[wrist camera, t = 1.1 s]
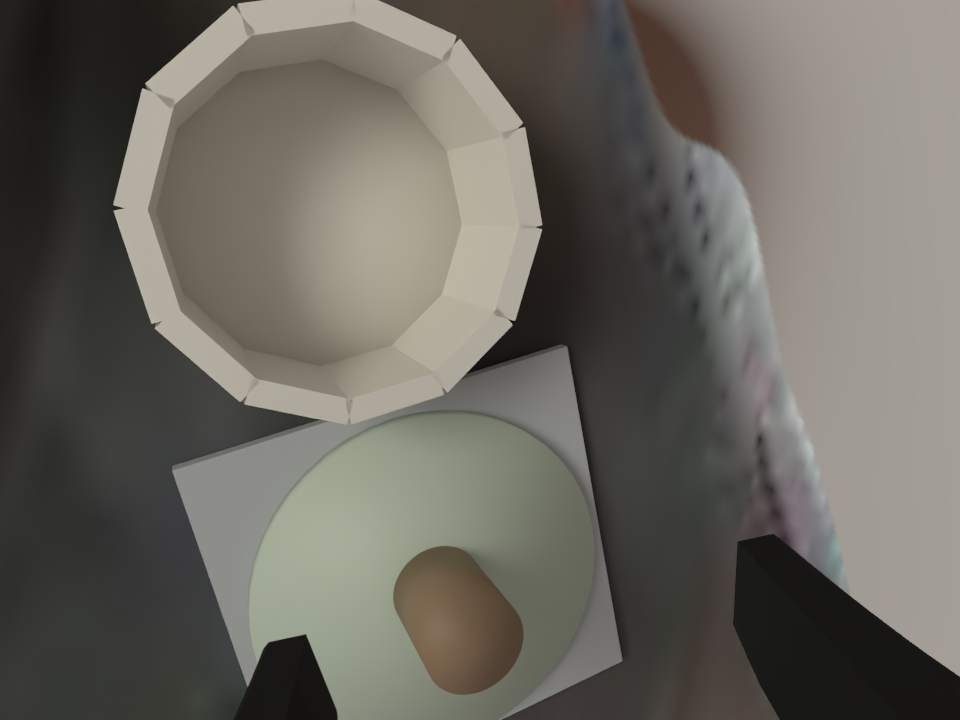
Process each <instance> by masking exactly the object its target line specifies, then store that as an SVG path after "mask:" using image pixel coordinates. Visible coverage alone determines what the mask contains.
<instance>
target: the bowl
mask: <svg viewBox="0 0 960 720" xmlns="http://www.w3.org/2000/svg"><path fill="white" fill-rule="evenodd" d="M455 38H456V35H453V34H451V33H449V32H447V31H445V30H442V29H440V28H438V27H436V26H434V25H431V24H429V23H427V22H425V21H423V20H420V19H418V18H416V17H414V16H412V15H409V14H407V13H405V12H403V11H401V10H398V9H396V8H394V7H392V6H390V5H387V4H385V3H383V2H381V1H379V0H262V1H254V2H246V3H238V6H237V10H236V9H235V7H234V6H232V7H231V8H230V9H229V10H228V11H227V12H225V13H224V14H223V15H222V16H221V17H220V18H219V19H218V20H216V21H215V22H214V23H213V24H212V25H211V26H210V27H208V28H207V29H206V30H205V31H204V32H203V33H202V34H201V35H199V36H198V37H197V38H196V39H195V40H194V41H193V42H192V43H190V44H189V45H188V46H187V47H186V48H185V49H184V50H182V51H181V52H180V53H179V54H178V55H177V56H176V57H175V58H173V59H172V60H171V61H170V62H169V63H168V64H167V65H165V66H164V67H163V68H162V69H161V70H160V71H159V72H158V73H156V74H155V75H154V76H153V77H152V78H151V79H150V80H149V81H147V82H146V83H145V85H146V88H147V90H146V89H143V88H142V91H141V95H140V99H139V103H138V107H137V111H136V115H135V119H134V123H133V127H132V131H131V135H130V139H129V144H128V148H127V152H126V156H125V160H124V164H123V168H122V172H121V176H120V180H119V184H118V188H117V192H116V196H115V200H114V204H113V205H115V206H118V207H122V208H124V209H119V210H114V214H115V217H116V220H117V223H118V226H119V229H120V232H121V235H122V238H123V241H124V244H125V246H126V249H127V252H128V255H129V258H130V261H131V264H132V267H133V270H134V273H135V276H136V279H137V282H138V285H139V288H140V291H141V294H142V297H143V300H144V303H145V306H146V309H147V312H148V315H149V318H150V321H151V324H153V323H156V326H155V329H156V330H157V331H158V332H159V333H161V334H162V335H163V336H164V337H165V338H166V339H168V340H169V341H170V342H171V343H172V344H173V345H175V346H176V347H177V348H178V349H179V350H180V351H181V352H183V353H184V354H185V355H186V356H187V357H188V358H190V359H191V360H192V361H193V362H194V363H195V364H197V365H198V366H199V367H200V368H201V369H202V370H203V371H205V372H206V373H207V374H208V375H209V376H210V377H212V378H213V379H214V380H215V381H216V382H217V383H218V384H220V385H221V386H222V387H223V388H224V389H225V390H227V391H228V392H229V393H230V394H231V395H232V396H234V397H235V398H236V399H237V400H238V401H239V402H241V401H242V400H244V404H245V405H250V406H255V407H260V408H265V409H270V410H275V411H280V412H285V413H290V414H295V415H300V416H305V417H310V418H315V419H320V420H325V421H330V422H335V423H340V424H345V425H347V422H348V421H349V422H350V423H351V425H352V424H355V423H358V422H361V421H364V420H367V419H370V418H373V417H377V416H380V415H383V414H386V413H389V412H392V411H395V410H398V409H402V408H405V407H408V406H411V405H414V404H417V403H420V402H424V401H427V400H430V399H433V398H436V397H439V396H442V395H444V393H443V390H445V391H446V392H449V391H450V390H451V389H452V388H453V387H454V386H455V384H456V383H457V382H458V381H459V380H460V379H461V378H462V377H463V376H464V375H465V374H466V373H467V372H468V371H469V370H470V369H471V368H472V367H473V366H474V365H475V364H476V363H477V362H478V361H479V360H480V359H481V357H482V356H483V355H484V354H485V353H486V352H487V351H488V350H489V349H490V348H491V347H492V346H493V345H494V344H495V343H496V342H497V341H498V340H499V339H500V338H501V337H502V336H503V335H504V334H505V333H506V331H507V330H508V329H509V328H510V327H511V326H512V325H513V324H512V323H511V322H510V321H509V320H508V319H510V320H513V321H515V320H516V316H517V313H518V310H519V306H520V303H521V300H522V296H523V293H524V289H525V286H526V283H527V279H528V276H529V273H530V269H531V266H532V262H533V259H534V256H535V252H536V249H537V246H538V242H539V239H540V236H541V232H542V229H539V228H536V227H537V226H541V225H542V220H541V214H540V208H539V203H538V197H537V191H536V186H535V180H534V175H533V169H532V163H531V158H530V152H529V146H528V141H527V135H526V130H525V127H524V128H519V127H520V126H521V125H522V124H523V122H522V121H521V119H520V118H519V117H518V115H517V114H516V113H515V111H514V110H513V109H512V107H511V106H510V105H509V103H508V102H507V101H506V99H505V98H504V97H503V95H502V94H501V93H500V91H499V90H498V89H497V87H496V86H495V85H494V83H493V82H492V81H491V79H490V78H489V77H488V75H487V74H486V73H485V71H484V70H483V69H482V67H481V66H480V65H479V63H478V62H477V61H476V59H475V58H474V57H473V55H472V54H471V53H470V51H469V50H468V49H467V47H466V46H465V45H464V43H463V42H462V41H461V39H459V40H458V41H456V42H455ZM454 42H455V43H454ZM518 128H519V129H518Z"/></svg>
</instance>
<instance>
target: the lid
mask: <svg viewBox="0 0 960 720" xmlns="http://www.w3.org/2000/svg"><path fill="white" fill-rule="evenodd" d="M593 570H594V537H593V528H592V523H591V519H590V514H589V510H588V507H587V504H586V502H585V499H584V497H583V494H582V492H581V489H580V488H579V486H578V484H577V482H576V481H575V479H574V477H573V475H572V474H571V472H570V471H569V470H568V468H567V467H566V466H565V465H564V463H563V462H562V461H561V460H560V459H559V457H558V456H557V455H555V454H554V453H553V452H552V451H551V450H550V449H549V448H548V447H547V446H546V445H545V444H543V443H542V442H540V441H539V440H537V439H536V438H534V437H533V436H531V435H530V434H528V433H527V432H525V431H524V430H522V429H520V428H518V427H516V426H514V425H512V424H510V423H508V422H506V421H504V420H501V419H498V418H495V417H491V416H488V415H485V414H481V413H475V412H468V411H461V410H434V411H426V412H417V413H412V414H408V415H404V416H400V417H396V418H392V419H389V420H387V421H384V422H382V423H379V424H377V425H374V426H372V427H369V428H367V429H365V430H363V431H361V432H360V433H358V434H356V435H354V436H352V437H350V438H348V439H347V440H345V441H344V442H342V443H341V444H339V445H338V446H337V447H335V448H334V449H332V450H331V451H329V452H328V453H327V454H325V455H324V456H323V457H322V458H321V459H320V460H318V461H317V462H316V463H315V464H314V465H313V466H312V467H311V468H310V469H309V470H307V471H306V472H305V473H304V475H303V476H302V477H301V478H300V479H299V480H298V481H297V483H296V484H295V485H294V486H293V487H292V488H291V489H290V491H289V492H288V493H287V495H286V496H285V498H284V499H283V501H282V502H281V504H280V505H279V507H278V508H277V510H276V511H275V513H274V514H273V516H272V518H271V520H270V522H269V524H268V526H267V528H266V530H265V532H264V534H263V536H262V539H261V542H260V544H259V547H258V550H257V553H256V556H255V559H254V563H253V568H252V573H251V577H250V582H249V596H248V615H249V626H250V634H251V641H252V645H253V649H254V653H255V657H256V661H257V664H258V661H259V659H260V656H261V654H262V651H263V649H264V647H265V646H266V645H267V643H268V642H272V641H276V640H281V639H286V638H290V637H295V636H300V635H304V634H306V635H307V638H308V640H309V643H310V645H311V648H312V650H313V653H314V655H315V658H316V660H317V662H318V665H319V667H320V670H321V672H322V675H323V677H324V680H325V682H326V685H327V687H328V690H329V692H330V695H331V697H332V700H333V702H334V705H335V707H336V710H337V717H338V720H498V719H499V718H501V717H502V716H504V715H505V714H506V713H508V712H509V711H511V710H512V709H513V708H515V707H516V706H517V705H518V704H519V703H520V702H522V701H523V700H524V699H525V698H526V697H527V696H529V695H530V694H531V693H532V691H533V690H534V689H535V688H536V687H537V686H538V685H539V684H540V683H541V682H542V681H543V680H544V679H545V678H546V676H547V675H548V674H549V673H550V671H551V670H552V669H553V668H554V666H555V665H556V664H557V662H558V661H559V659H560V658H561V656H562V655H563V653H564V652H565V650H566V648H567V647H568V645H569V644H570V642H571V640H572V638H573V636H574V634H575V632H576V630H577V628H578V626H579V623H580V621H581V618H582V615H583V613H584V610H585V607H586V604H587V601H588V597H589V593H590V589H591V585H592V577H593Z"/></svg>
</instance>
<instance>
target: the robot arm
mask: <svg viewBox="0 0 960 720" xmlns="http://www.w3.org/2000/svg"><path fill="white" fill-rule="evenodd" d="M733 625H734V627H735V629H736V632H737V634H738V636H739V639H740V641H741V643H742V646H743V648H744V650H745V653H746V655H747V657H748V659H749V662H750V664H751V666H752V668H753V670H754V673H755V675H756V677H757V679H758V681H759V684H760V686H761V687H762V689H763V691H764V693H765V694H766V696H767V698H768V700H769V701H770V703H771V705H772V707H773V708H774V710H775V712H776V714H777V715H778V717H779V719H780V720H960V677H959V676H958V675H956V674H955V673H953V672H952V671H950V670H949V669H948V668H946V667H945V666H943V665H942V664H941V663H939V662H938V661H936V660H935V659H933V658H932V657H930V656H929V655H927V654H926V653H925V652H923V651H922V650H921V649H919V648H918V647H917V646H915V645H914V644H912V643H911V642H909V641H908V640H907V639H906V638H904V637H903V636H902V635H900V634H899V633H898V632H896V631H895V630H894V629H892V628H891V627H890V626H888V625H887V624H886V623H884V622H883V621H882V620H880V619H879V618H878V617H876V616H875V615H874V614H872V613H871V612H870V611H869V610H867V609H866V608H865V607H863V606H862V605H861V604H860V603H858V602H857V601H856V600H854V599H853V598H852V597H851V596H849V595H848V594H847V593H846V592H844V591H843V590H842V589H841V588H839V587H838V586H837V585H836V584H834V583H833V582H832V581H831V580H829V579H828V578H827V577H826V576H825V575H823V574H822V573H821V572H820V571H818V570H817V569H816V568H815V567H814V566H812V565H811V564H810V563H809V562H807V561H806V560H805V559H804V558H803V557H801V556H800V555H799V554H798V553H797V552H795V551H794V550H793V549H792V548H791V547H789V546H788V545H787V544H786V543H785V542H783V541H782V540H781V539H780V538H778V537H777V536H775V535H774V534H771V535H766V536H761V537H757V538H752V539H747V540H743V541H738V546H737V565H736V584H735V603H734V621H733ZM234 720H338V717H337V710H336V707H335V705H334V702H333V700H332V697H331V695H330V692H329V690H328V687H327V685H326V682H325V680H324V677H323V675H322V672H321V670H320V667H319V665H318V662H317V660H316V658H315V655H314V653H313V650H312V648H311V645H310V643H309V640H308V638H307V635H306V634H304V635H300V636H295V637H290V638H286V639H281V640H276V641H272V642H268V643H267V645H266V646H265V647H264V649H263V651H262V654H261V656H260V659H259V661H258V664H257V666H256V669H255V671H254V673H253V676H252V678H251V681H250V683H249V685H248V688H247V690H246V693H245V695H244V697H243V700H242V702H241V704H240V706H239V709H238V711H237V713H236V715H235V718H234Z"/></svg>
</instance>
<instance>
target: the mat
mask: <svg viewBox="0 0 960 720" xmlns="http://www.w3.org/2000/svg"><path fill="white" fill-rule="evenodd" d="M443 393H444V395H442V396H439V397H436V398H433V399H430V400H427V401H424V402H420V403H417V404H414V405H411V406H408V407H405V408H402V409H398V410H395V411H392V412H389V413H386V414H383V415H380V416H377V417H373V418H370V419H367V420H364V421H361V422H358V423H355V424H352V425H351V423H350V422H349V421H348V422H347V425H345V424H340V423H335V422H330V421H325V420H318V421H314V422H311V423H308V424H305V425H302V426H298V427H295V428H292V429H289V430H286V431H282V432H279V433H276V434H273V435H270V436H267V437H263V438H260V439H257V440H254V441H251V442H247V443H244V444H241V445H238V446H235V447H231V448H228V449H225V450H222V451H219V452H215V453H212V454H209V455H206V456H203V457H199V458H196V459H193V460H190V461H187V462H183V463H180V464H177V465H174V466H173V467H172V472H173V474H174V477H175V480H176V483H177V486H178V489H179V492H180V494H181V497H182V500H183V503H184V506H185V509H186V512H187V515H188V517H189V520H190V523H191V526H192V529H193V532H194V535H195V537H196V540H197V543H198V546H199V549H200V552H201V555H202V558H203V560H204V563H205V566H206V569H207V572H208V575H209V578H210V580H211V583H212V586H213V589H214V592H215V595H216V598H217V601H218V603H219V606H220V609H221V612H222V615H223V618H224V621H225V623H226V626H227V629H228V632H229V635H230V638H231V641H232V644H233V646H234V649H235V652H236V655H237V658H238V661H239V664H240V667H241V669H242V672H243V675H244V678H245V681H246V684H247V687H248V685H249V683H250V681H251V678H252V676H253V673H254V671H255V669H256V666H257V661H256V657H255V653H254V649H253V645H252V641H251V634H250V626H249V615H248V596H249V582H250V577H251V573H252V568H253V563H254V559H255V556H256V553H257V550H258V547H259V544H260V542H261V539H262V536H263V534H264V532H265V530H266V528H267V526H268V524H269V522H270V520H271V518H272V516H273V514H274V513H275V511H276V510H277V508H278V507H279V505H280V504H281V502H282V501H283V499H284V498H285V496H286V495H287V493H288V492H289V491H290V489H291V488H292V487H293V486H294V485H295V484H296V483H297V481H298V480H299V479H300V478H301V477H302V476H303V475H304V473H305V472H306V471H307V470H309V469H310V468H311V467H312V466H313V465H314V464H315V463H316V462H317V461H318V460H320V459H321V458H322V457H323V456H324V455H325V454H327V453H328V452H329V451H331V450H332V449H334V448H335V447H337V446H338V445H339V444H341V443H342V442H344V441H345V440H347V439H348V438H350V437H352V436H354V435H356V434H358V433H360V432H361V431H363V430H365V429H367V428H369V427H372V426H374V425H377V424H379V423H382V422H384V421H387V420H389V419H392V418H396V417H400V416H404V415H408V414H412V413H417V412H426V411H434V410H461V411H468V412H475V413H481V414H485V415H488V416H491V417H495V418H498V419H501V420H504V421H506V422H508V423H510V424H512V425H514V426H516V427H518V428H520V429H522V430H524V431H525V432H527V433H528V434H530V435H531V436H533V437H534V438H536V439H537V440H539V441H540V442H542V443H543V444H545V445H546V446H547V447H548V448H549V449H550V450H551V451H552V452H553V453H554V454H555V455H557V456H558V457H559V459H560V460H561V461H562V462H563V463H564V465H565V466H566V467H567V468H568V470H569V471H570V472H571V474H572V475H573V477H574V479H575V481H576V482H577V484H578V486H579V488H580V489H581V492H582V494H583V497H584V499H585V502H586V504H587V507H588V510H589V514H590V519H591V523H592V528H593V537H594V570H593V577H592V585H591V589H590V593H589V597H588V601H587V604H586V607H585V610H584V613H583V615H582V618H581V621H580V623H579V626H578V628H577V630H576V632H575V634H574V636H573V638H572V640H571V642H570V644H569V645H568V647H567V648H566V650H565V652H564V653H563V655H562V656H561V658H560V659H559V661H558V662H557V664H556V665H555V666H554V668H553V669H552V670H551V671H550V673H549V674H548V675H547V676H546V678H545V679H544V680H543V681H542V682H541V683H540V684H539V685H538V686H537V687H536V688H535V689H534V690H533V691H532V693H531V694H530V695H529V696H527V697H526V698H525V699H524V700H523V701H522V702H520V703H519V704H518V705H517V706H516V707H515V708H513V709H512V710H511V711H509V712H508V713H506V714H505V715H504V716H502V717H501V718H499V719H498V720H502V719H504V718H506V717H508V716H510V715H512V714H514V713H516V712H518V711H520V710H522V709H524V708H527V707H529V706H531V705H533V704H535V703H537V702H539V701H541V700H543V699H545V698H547V697H549V696H551V695H553V694H555V693H558V692H560V691H562V690H564V689H566V688H568V687H570V686H572V685H574V684H576V683H578V682H580V681H582V680H584V679H586V678H589V677H591V676H593V675H595V674H597V673H599V672H601V671H603V670H605V669H607V668H609V667H611V666H613V665H615V664H617V663H620V662H622V656H621V650H620V644H619V639H618V633H617V627H616V621H615V616H614V610H613V604H612V599H611V593H610V587H609V582H608V576H607V570H606V565H605V559H604V553H603V548H602V542H601V536H600V531H599V525H598V519H597V514H596V508H595V502H594V497H593V491H592V485H591V480H590V474H589V468H588V463H587V457H586V451H585V445H584V440H583V434H582V428H581V423H580V417H579V411H578V406H577V400H576V394H575V389H574V383H573V377H572V372H571V366H570V360H569V355H568V349H567V346H565V345H562V344H560V345H557V346H554V347H551V348H548V349H544V350H541V351H538V352H535V353H532V354H528V355H525V356H522V357H519V358H516V359H512V360H509V361H506V362H503V363H500V364H496V365H493V366H490V367H487V368H484V369H480V370H477V371H474V372H471V373H468V374H465V375H464V376H463V377H462V378H461V379H460V380H459V381H458V382H457V383H456V384H455V386H454V387H453V388H452V389H451V390H450V391H449V392H446V391H445V390H443Z"/></svg>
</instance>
